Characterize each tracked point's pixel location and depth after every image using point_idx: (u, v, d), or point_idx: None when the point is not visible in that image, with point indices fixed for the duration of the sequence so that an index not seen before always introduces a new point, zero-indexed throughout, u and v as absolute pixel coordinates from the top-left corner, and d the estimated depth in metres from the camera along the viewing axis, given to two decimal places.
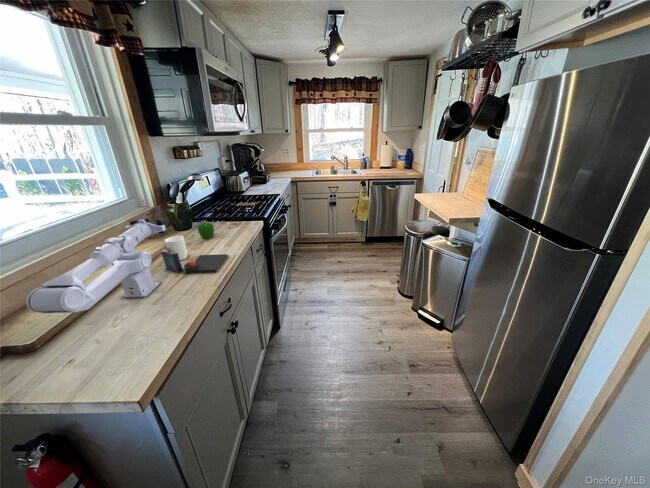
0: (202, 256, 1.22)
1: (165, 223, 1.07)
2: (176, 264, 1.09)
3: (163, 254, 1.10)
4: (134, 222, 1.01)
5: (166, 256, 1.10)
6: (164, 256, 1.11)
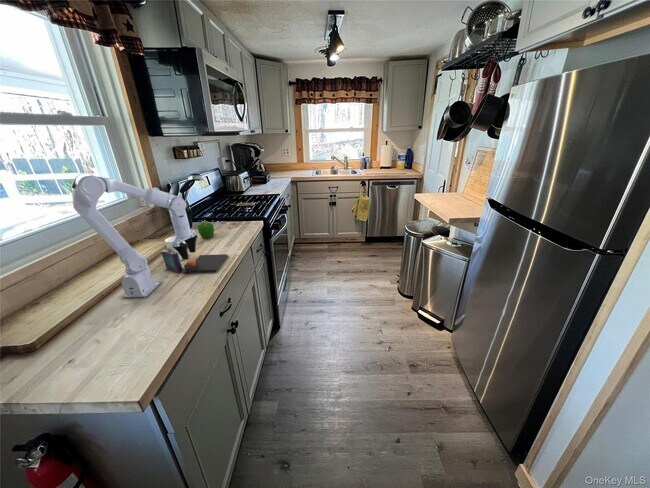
0: (202, 256, 1.22)
1: (182, 255, 1.05)
2: (176, 264, 1.09)
3: (163, 254, 1.10)
4: (194, 236, 1.10)
5: (167, 256, 1.10)
6: (164, 256, 1.11)
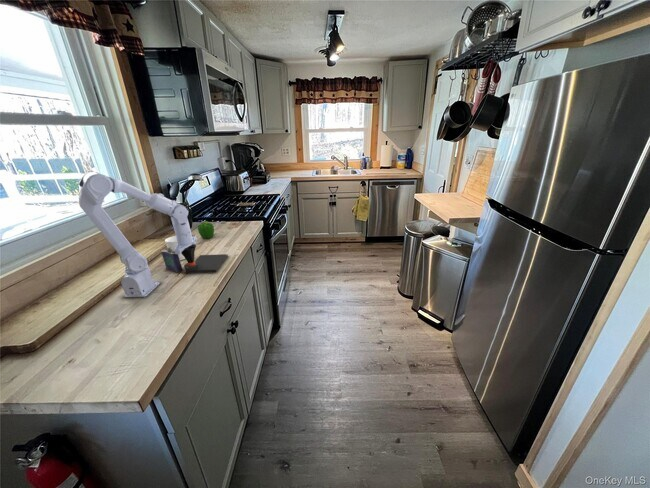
0: (202, 256, 1.22)
1: (187, 258, 1.09)
2: (176, 264, 1.09)
3: (163, 254, 1.10)
4: (193, 246, 1.09)
5: (167, 256, 1.10)
6: (164, 256, 1.11)
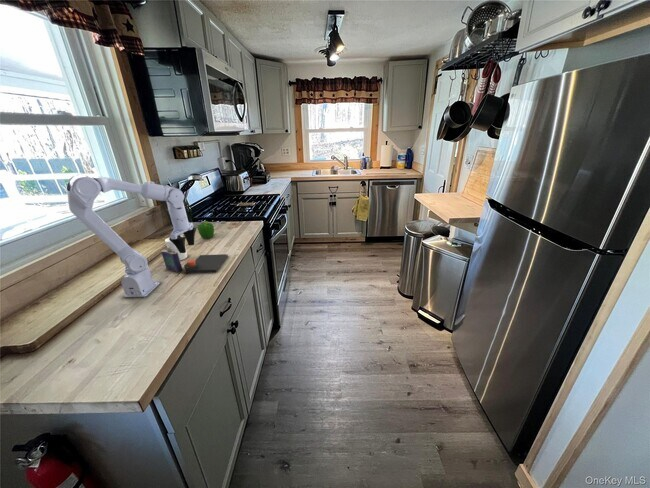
0: (202, 256, 1.22)
1: (179, 248, 1.03)
2: (176, 264, 1.09)
3: (163, 254, 1.10)
4: (193, 229, 1.09)
5: (167, 256, 1.10)
6: (164, 256, 1.11)
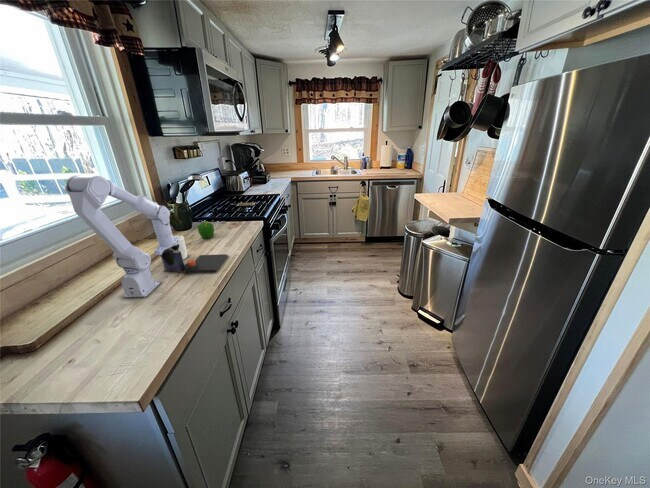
0: (202, 256, 1.22)
1: (167, 261, 1.09)
2: (180, 263, 1.10)
3: None
4: (176, 245, 1.11)
5: None
6: None
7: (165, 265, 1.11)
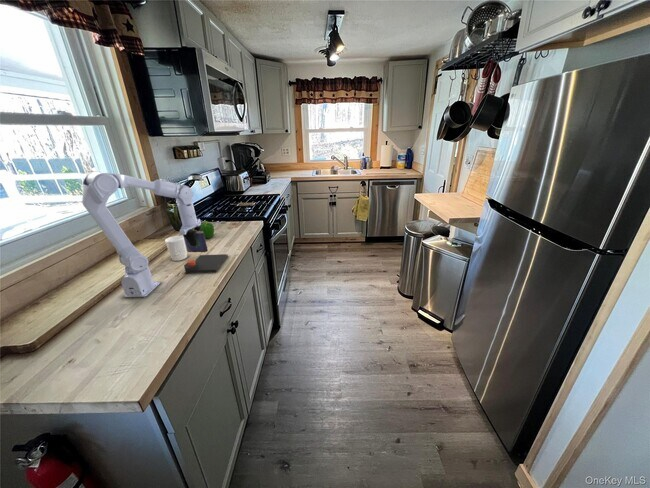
0: (202, 256, 1.22)
1: (190, 241, 1.10)
2: (203, 243, 1.11)
3: None
4: (198, 226, 1.12)
5: None
6: None
7: (188, 246, 1.12)
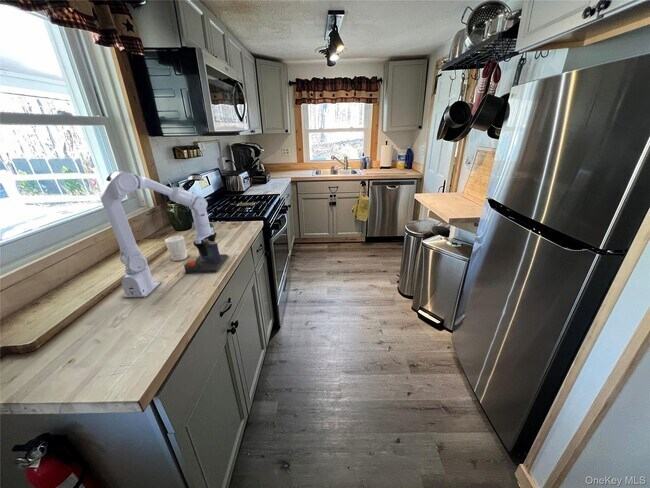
0: None
1: (202, 252, 1.11)
2: (216, 254, 1.14)
3: None
4: (213, 233, 1.17)
5: None
6: None
7: (202, 256, 1.15)
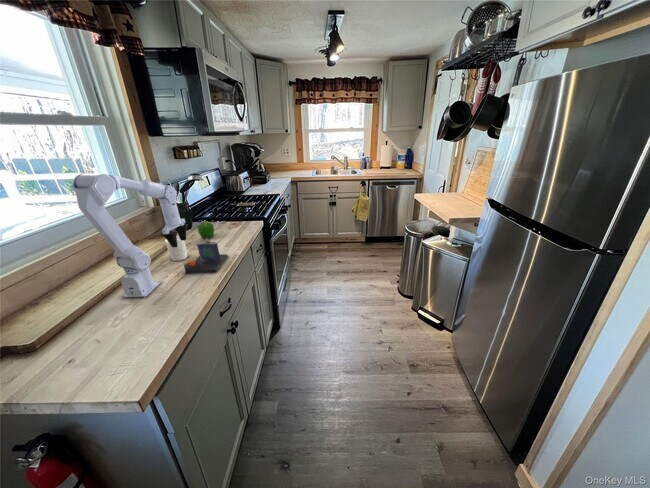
0: None
1: (171, 243, 1.09)
2: (216, 254, 1.14)
3: (200, 246, 1.13)
4: (185, 224, 1.15)
5: (204, 248, 1.14)
6: (201, 248, 1.14)
7: (202, 256, 1.15)
